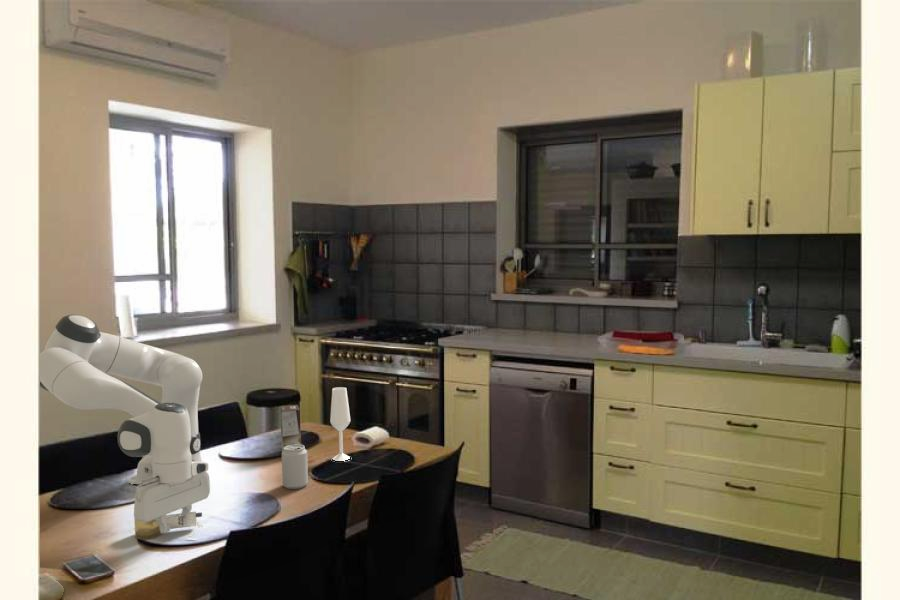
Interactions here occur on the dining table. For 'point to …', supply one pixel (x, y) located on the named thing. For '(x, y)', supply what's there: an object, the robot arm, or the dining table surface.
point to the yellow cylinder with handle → (153, 528)
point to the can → (294, 466)
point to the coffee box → (290, 425)
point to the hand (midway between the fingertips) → (174, 528)
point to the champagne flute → (340, 417)
